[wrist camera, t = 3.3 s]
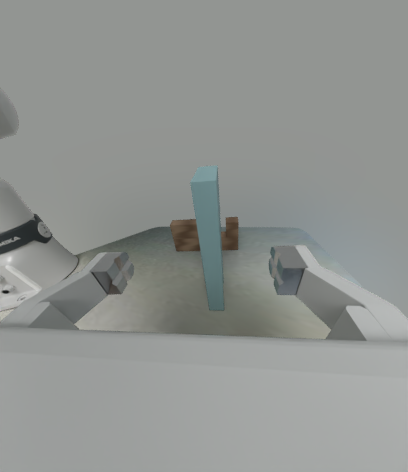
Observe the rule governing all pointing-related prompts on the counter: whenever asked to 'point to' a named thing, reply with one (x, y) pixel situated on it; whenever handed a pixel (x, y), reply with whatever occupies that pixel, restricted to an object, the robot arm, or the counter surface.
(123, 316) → the counter surface
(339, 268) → the counter surface
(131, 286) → the counter surface
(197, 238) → the notched walnut block
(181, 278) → the counter surface
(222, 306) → the teal plate
